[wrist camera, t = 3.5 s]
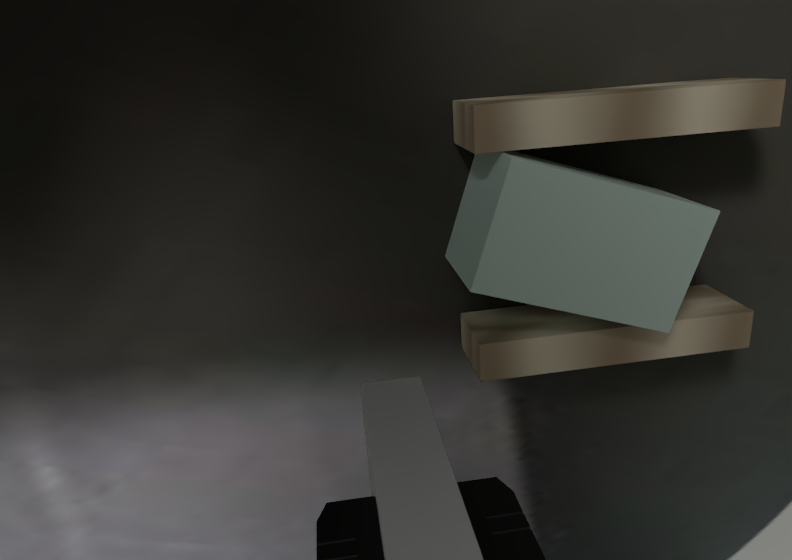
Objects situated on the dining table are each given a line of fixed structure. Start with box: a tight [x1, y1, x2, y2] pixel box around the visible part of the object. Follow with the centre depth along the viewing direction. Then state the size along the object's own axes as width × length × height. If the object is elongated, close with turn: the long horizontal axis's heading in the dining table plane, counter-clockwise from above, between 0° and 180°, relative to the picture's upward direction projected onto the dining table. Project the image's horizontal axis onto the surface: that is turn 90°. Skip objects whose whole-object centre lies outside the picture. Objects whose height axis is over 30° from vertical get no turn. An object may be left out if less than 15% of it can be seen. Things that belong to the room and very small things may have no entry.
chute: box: [453, 78, 786, 382], centre depth 30 cm, size 14×13×4 cm
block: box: [445, 151, 720, 333], centre depth 29 cm, size 10×6×6 cm, turn 75°
